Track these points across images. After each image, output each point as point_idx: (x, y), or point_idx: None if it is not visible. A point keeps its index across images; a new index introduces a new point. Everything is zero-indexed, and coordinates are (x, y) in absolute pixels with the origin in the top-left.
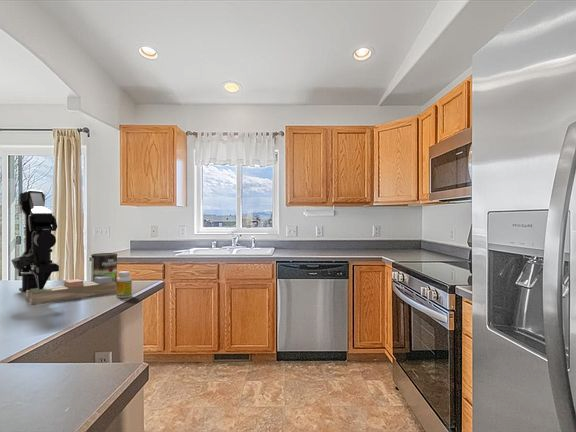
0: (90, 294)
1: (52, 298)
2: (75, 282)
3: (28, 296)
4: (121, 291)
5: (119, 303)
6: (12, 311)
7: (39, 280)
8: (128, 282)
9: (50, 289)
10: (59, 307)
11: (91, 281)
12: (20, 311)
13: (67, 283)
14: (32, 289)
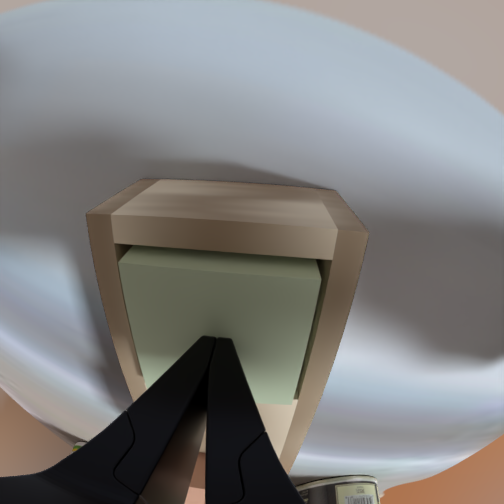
0: None
1: None
2: None
3: (247, 200)
4: None
5: (15, 398)
6: (48, 38)
7: (121, 424)
8: None
9: (145, 382)
10: (5, 272)
11: (355, 496)
12: (19, 82)
13: (203, 478)
14: (259, 283)
